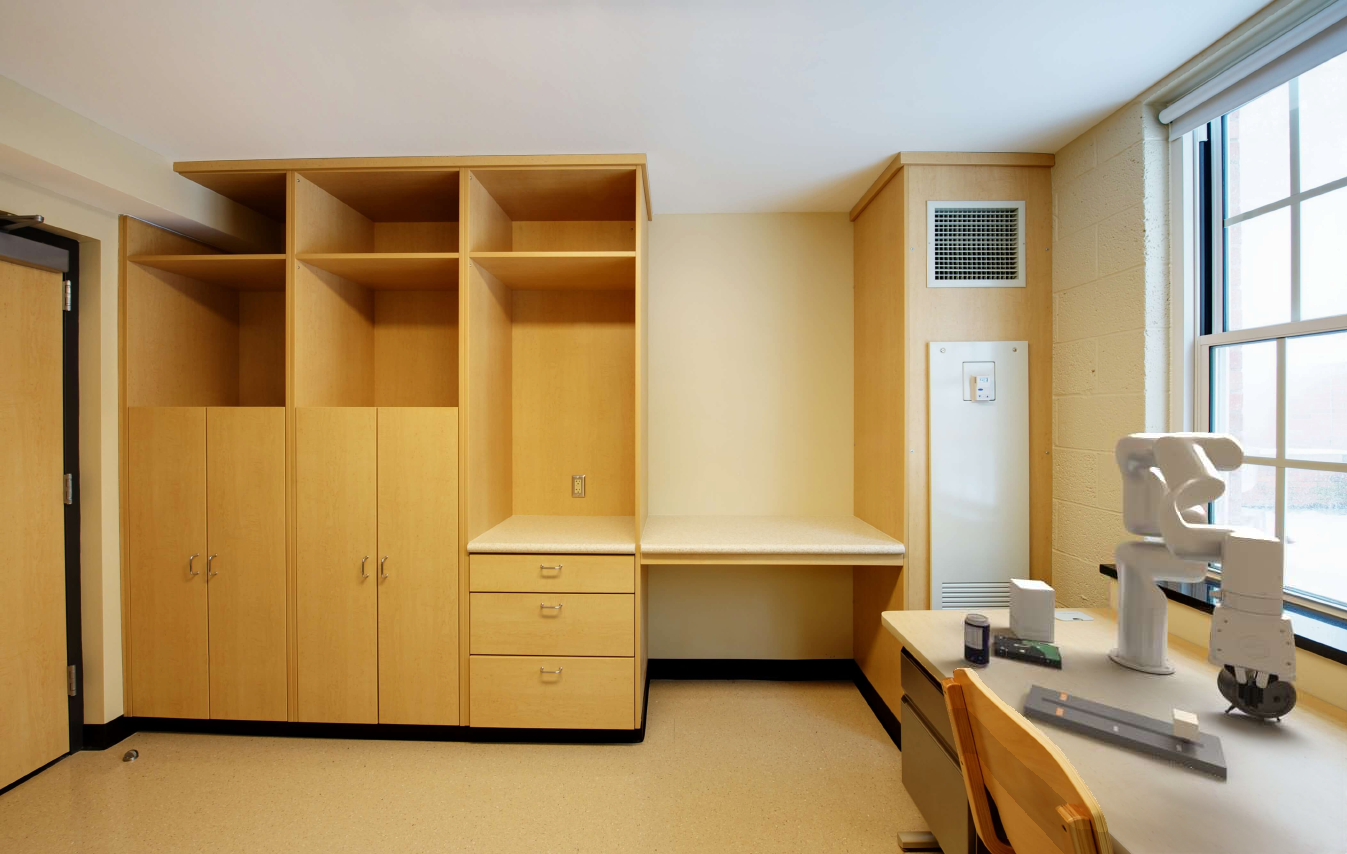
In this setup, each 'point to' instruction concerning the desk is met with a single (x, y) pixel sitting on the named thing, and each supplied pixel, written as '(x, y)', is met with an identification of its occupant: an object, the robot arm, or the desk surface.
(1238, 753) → the desk surface
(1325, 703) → the desk surface
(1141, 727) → the fader console
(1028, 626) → the supplement box
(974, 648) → the beverage can
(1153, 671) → the robot arm
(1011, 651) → the disk drive
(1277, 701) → the alarm clock
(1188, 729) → the fader knob
